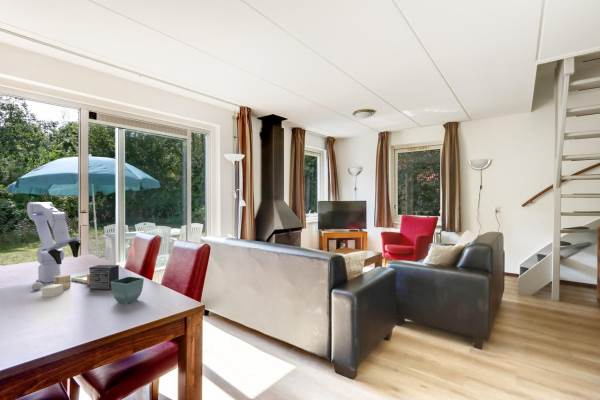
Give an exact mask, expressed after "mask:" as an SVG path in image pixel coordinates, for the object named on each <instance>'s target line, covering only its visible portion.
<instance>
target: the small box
mask: <svg viewBox="0 0 600 400" xmlns="http://www.w3.org/2000/svg"><path fill="white" fill-rule="evenodd" d="M119 267H120V265H119V264H97V265H94V266H90V267H89V273H90V285H89V290H90V291H91V290H92V291H112V288H111V282H112V281H115V280H119V279H120V271H119V270H120V268H119Z"/></svg>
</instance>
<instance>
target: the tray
mask: <svg viewBox="0 0 600 400" xmlns="http://www.w3.org/2000/svg"><path fill="white" fill-rule="evenodd" d="M89 273H90V272H88V273H84V274H79V275H76V276H70V282H75V281H77V282H76V283H80V282H82V283H83V284H86V283H87V274H89ZM82 283H81V284H82Z"/></svg>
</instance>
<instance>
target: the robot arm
mask: <svg viewBox="0 0 600 400" xmlns="http://www.w3.org/2000/svg"><path fill="white" fill-rule="evenodd" d="M26 213H27V215H28V218H29V220H31V221H33V223H34V225H35V226H36V231H37V234H38V237H39V241H40V244H41V246H40V247H39V248H38V249H37V252H36V257H37V262H38V263H39V264H40V265H39V266H38V269H37V270H38V272H37V273H38V279H36V282H40V283H46V284H47V283H51V282H54V276H58V275H61V264H62V261H63V260H64V259H65V251H64V249H63V248H65V247H67V246H69V247H70V249H71V254H72V257H73V258H78V257H79V250H80V247H81V245H82V244H81V243H82V242H81V241H82V240H81V237H80V236H78V235H77V236H75V237H70V233H69V229H68V224H67V222H68V214H67V212H66V211H59V209H58V208H56V207H55V206H54V204H53V202H51V201H43V202H40V201H39V202H38V201H36V202H34V201H33V202H31V201H30V202H28V203H27V205H26ZM49 226H50V228H51V229H52V234H53V236H52V234H51V230H50V228H49ZM53 237H54V239H53ZM54 242H55V243H54Z"/></svg>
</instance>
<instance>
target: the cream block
mask: <svg viewBox="0 0 600 400" xmlns="http://www.w3.org/2000/svg"><path fill="white" fill-rule="evenodd" d="M62 294H64V289H63V284H54V283H52V284H50V285H47V286H42V288H41V295H42V297H44V298H45V297H46V298H48V297H49V298H54V297H56V296H59V295H62Z"/></svg>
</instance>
